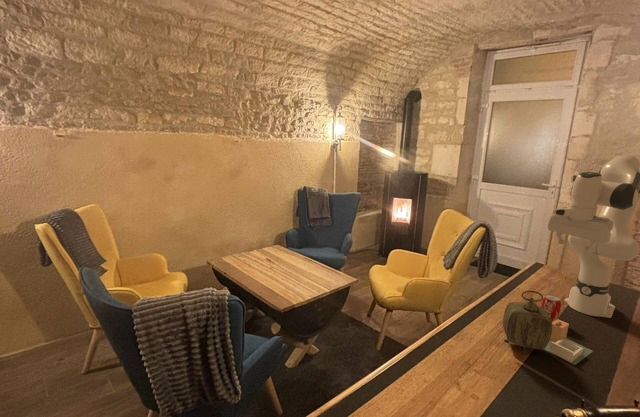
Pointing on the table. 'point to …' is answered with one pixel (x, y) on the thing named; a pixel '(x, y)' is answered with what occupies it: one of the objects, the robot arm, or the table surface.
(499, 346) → the table surface
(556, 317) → the soda can
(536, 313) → the tabletop clock
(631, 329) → the table surface
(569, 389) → the table surface
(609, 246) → the robot arm
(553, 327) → the plug
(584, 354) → the board
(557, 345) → the frame
